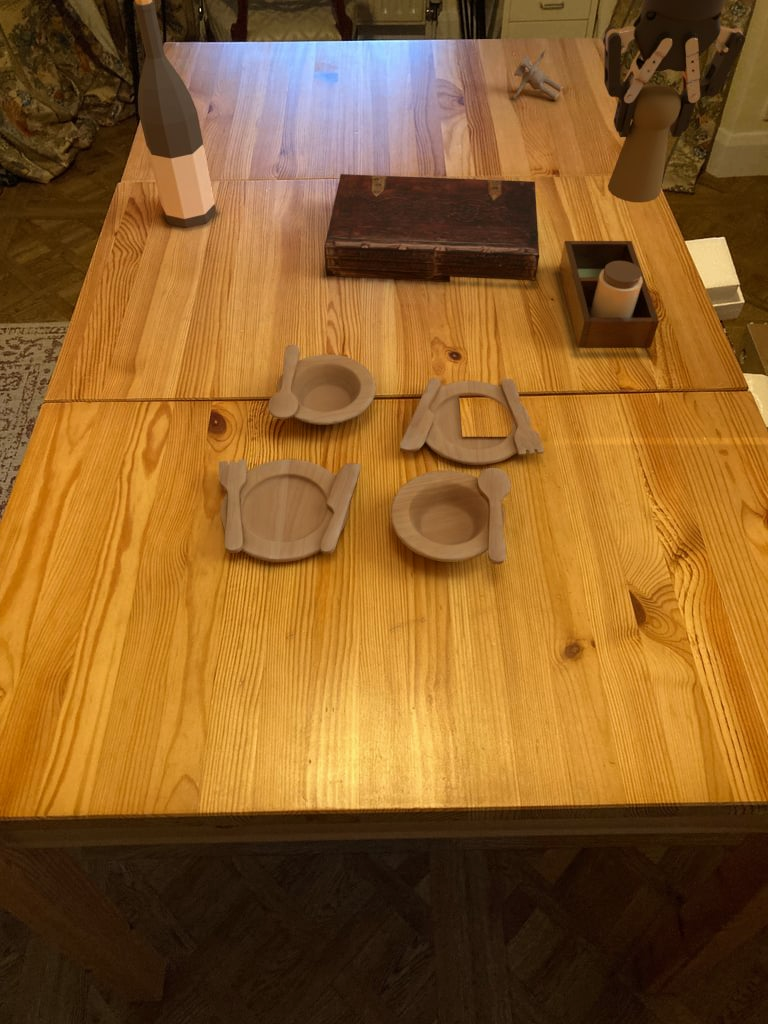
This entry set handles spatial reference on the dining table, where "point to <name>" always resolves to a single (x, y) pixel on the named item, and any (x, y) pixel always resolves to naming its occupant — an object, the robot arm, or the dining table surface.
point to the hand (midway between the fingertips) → (648, 133)
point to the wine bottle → (171, 131)
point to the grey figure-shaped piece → (535, 77)
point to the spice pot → (617, 291)
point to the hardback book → (432, 228)
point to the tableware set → (325, 497)
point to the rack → (580, 285)
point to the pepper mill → (645, 145)
